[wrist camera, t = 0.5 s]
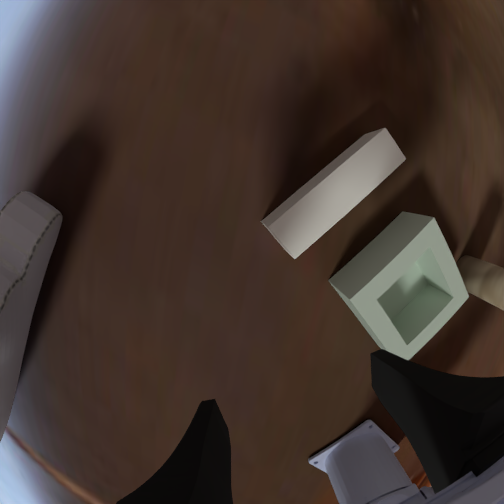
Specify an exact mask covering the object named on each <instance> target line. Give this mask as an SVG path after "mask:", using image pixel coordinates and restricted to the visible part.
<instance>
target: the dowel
mask: <svg viewBox="0 0 504 504" xmlns="http://www.w3.org/2000/svg"><path fill="white" fill-rule="evenodd" d="M456 265H457V268H458V270H459V273H460V275H461V277H462V280H463V282H464V285H465V288H466V290H467V292H469V293H471V294H473V295H475V296H477V297H479V298H481V299H483V300H485V301H487V302H489V303H490V304H492V305H494V306H496V307H498V308H500V309H502V310H504V268H503V267H500V266H497V265H495V264H492V263H489V262H486V261H483V260H481V259H478V258H475V257H472V256H469V255H465V256H463V257H461V258H460V259H459V261H458V262H457V264H456Z"/></svg>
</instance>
